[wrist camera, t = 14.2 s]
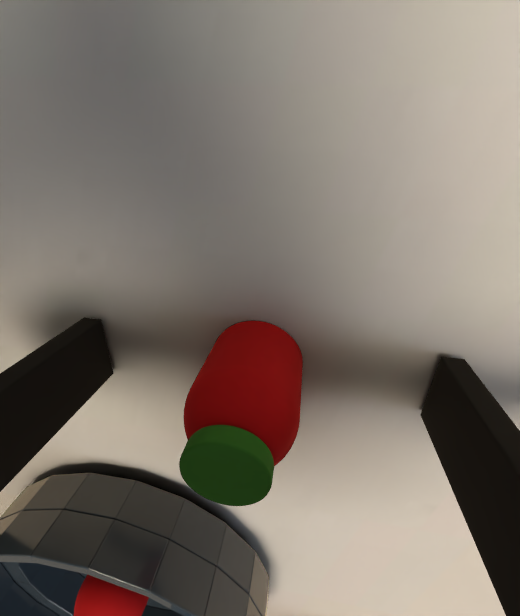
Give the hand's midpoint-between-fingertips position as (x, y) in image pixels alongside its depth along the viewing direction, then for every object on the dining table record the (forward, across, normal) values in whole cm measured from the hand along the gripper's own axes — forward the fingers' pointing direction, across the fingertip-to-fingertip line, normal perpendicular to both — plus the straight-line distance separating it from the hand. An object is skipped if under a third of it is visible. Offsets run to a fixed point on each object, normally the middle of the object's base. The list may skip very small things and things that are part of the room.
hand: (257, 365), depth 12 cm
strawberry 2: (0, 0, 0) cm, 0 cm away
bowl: (0, -7, -17) cm, 18 cm away
